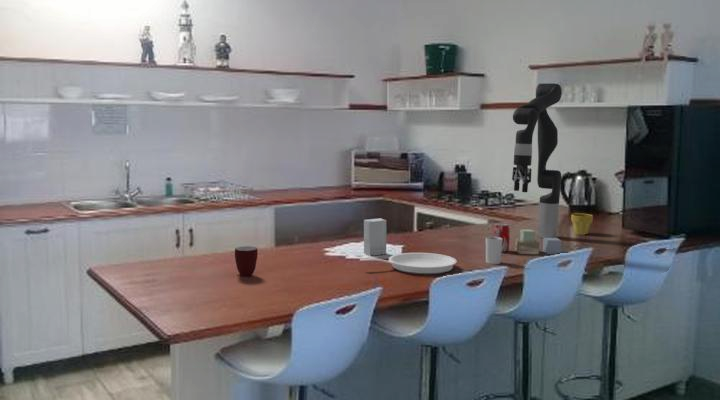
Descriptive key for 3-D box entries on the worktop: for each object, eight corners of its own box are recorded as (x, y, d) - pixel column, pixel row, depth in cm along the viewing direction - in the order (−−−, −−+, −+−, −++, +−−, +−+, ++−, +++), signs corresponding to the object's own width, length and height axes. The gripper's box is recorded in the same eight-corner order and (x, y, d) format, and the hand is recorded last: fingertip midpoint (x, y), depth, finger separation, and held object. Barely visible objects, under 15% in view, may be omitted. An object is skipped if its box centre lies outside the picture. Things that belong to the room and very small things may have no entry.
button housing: (515, 250, 292) (515, 239, 291) (533, 250, 292) (533, 239, 291) (520, 253, 284) (520, 242, 283) (538, 254, 284) (539, 242, 283)
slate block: (542, 251, 291) (543, 237, 290) (556, 251, 291) (556, 237, 291) (547, 253, 285) (547, 240, 284) (560, 254, 285) (561, 240, 285)
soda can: (509, 253, 285) (510, 225, 284) (492, 252, 287) (493, 225, 285) (508, 249, 292) (509, 223, 291) (492, 249, 293) (493, 222, 292)
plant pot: (591, 236, 330) (592, 216, 328) (570, 234, 333) (571, 215, 332) (591, 232, 339) (593, 214, 338) (570, 231, 343) (571, 212, 342)
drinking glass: (498, 265, 262) (499, 240, 260) (482, 262, 265) (483, 238, 264) (503, 262, 267) (504, 237, 266) (488, 260, 271) (489, 236, 269)
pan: (468, 274, 247) (468, 261, 246) (369, 280, 236) (370, 267, 235) (440, 259, 272) (440, 248, 271) (350, 264, 261) (350, 252, 260)
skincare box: (380, 252, 283) (380, 217, 282) (386, 254, 278) (387, 220, 276) (362, 253, 280) (363, 218, 278) (369, 256, 274) (369, 221, 273)
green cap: (519, 240, 290) (520, 229, 289) (531, 240, 290) (531, 229, 289) (523, 242, 285) (523, 231, 284) (534, 242, 285) (535, 231, 284)
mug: (226, 274, 240) (225, 247, 238) (243, 270, 246) (243, 244, 244) (244, 279, 233) (244, 251, 231) (262, 275, 239) (262, 248, 238)
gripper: (538, 155, 280) (535, 193, 282) (524, 154, 294) (521, 190, 296) (521, 154, 279) (519, 192, 280) (508, 153, 293) (505, 190, 294)
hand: (520, 191), depth 288 cm, fingers open, 8 cm apart
